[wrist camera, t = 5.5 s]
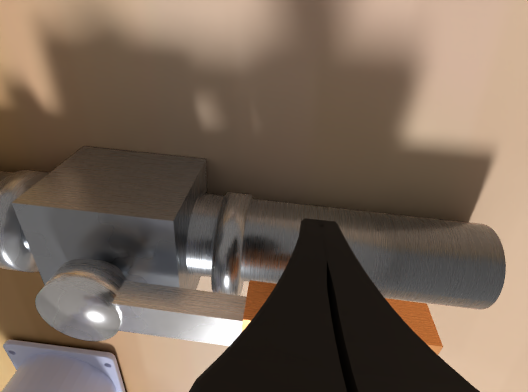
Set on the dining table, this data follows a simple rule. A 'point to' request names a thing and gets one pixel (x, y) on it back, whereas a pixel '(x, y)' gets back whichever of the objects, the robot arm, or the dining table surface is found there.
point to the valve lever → (167, 307)
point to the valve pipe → (223, 231)
